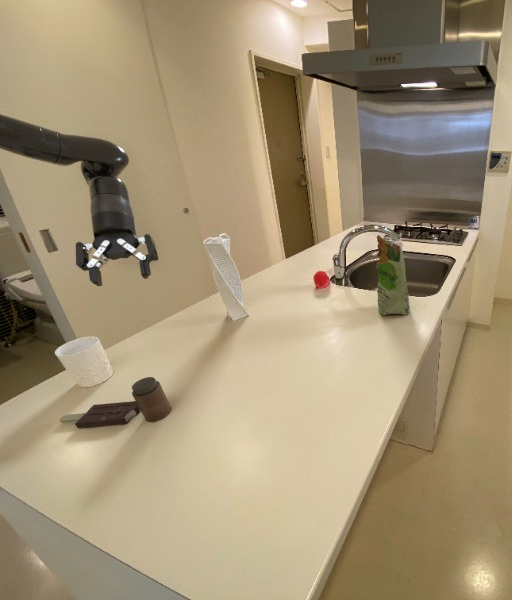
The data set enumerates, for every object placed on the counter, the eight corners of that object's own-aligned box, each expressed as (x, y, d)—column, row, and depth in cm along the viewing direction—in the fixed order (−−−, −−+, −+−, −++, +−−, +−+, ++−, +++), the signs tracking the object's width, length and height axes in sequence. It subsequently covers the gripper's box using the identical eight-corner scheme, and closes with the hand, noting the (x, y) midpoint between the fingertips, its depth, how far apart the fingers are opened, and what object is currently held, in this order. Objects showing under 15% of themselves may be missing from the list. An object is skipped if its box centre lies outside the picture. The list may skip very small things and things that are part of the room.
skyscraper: (254, 315, 108) (233, 232, 95) (231, 324, 103) (206, 238, 90) (244, 307, 113) (222, 228, 100) (222, 315, 108) (196, 233, 95)
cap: (331, 289, 125) (329, 274, 122) (316, 291, 123) (313, 277, 120) (329, 281, 132) (327, 267, 129) (313, 283, 130) (311, 269, 127)
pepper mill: (140, 423, 68) (123, 392, 64) (152, 406, 72) (137, 376, 69) (164, 420, 69) (149, 390, 65) (175, 404, 73) (162, 374, 69)
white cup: (94, 391, 77) (74, 357, 73) (66, 387, 78) (44, 354, 74) (124, 369, 84) (107, 337, 79) (98, 366, 85) (80, 335, 81)
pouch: (405, 321, 103) (404, 245, 91) (369, 317, 105) (364, 242, 94) (413, 305, 112) (413, 234, 101) (380, 301, 115) (377, 232, 103)
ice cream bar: (52, 431, 67) (130, 424, 68) (48, 426, 66) (127, 418, 67) (72, 412, 71) (145, 405, 73) (68, 406, 71) (142, 400, 72)
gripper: (64, 213, 70) (71, 280, 66) (143, 206, 76) (154, 268, 72) (83, 231, 77) (90, 293, 73) (155, 223, 83) (165, 281, 79)
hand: (122, 281), depth 73 cm, fingers open, 8 cm apart
